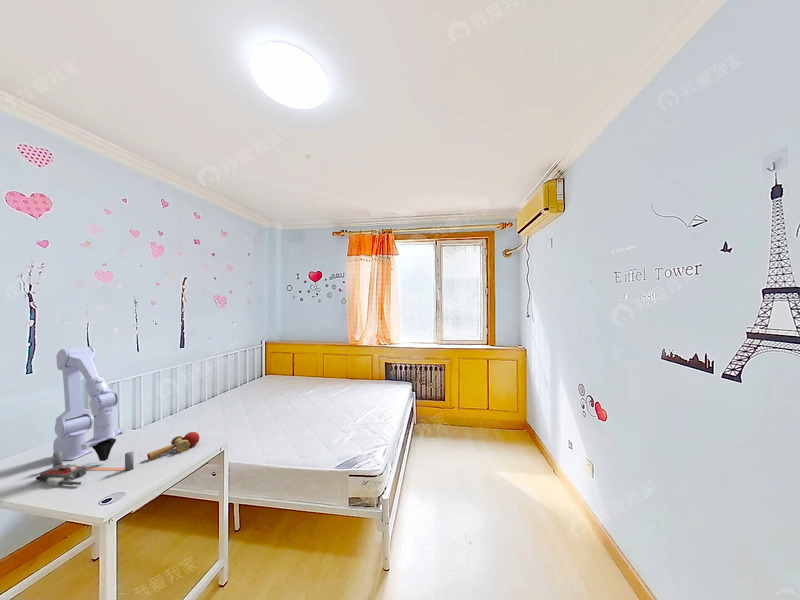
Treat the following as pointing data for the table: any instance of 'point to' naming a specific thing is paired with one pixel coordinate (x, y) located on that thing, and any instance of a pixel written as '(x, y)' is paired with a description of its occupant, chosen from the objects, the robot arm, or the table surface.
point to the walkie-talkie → (62, 475)
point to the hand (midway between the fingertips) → (103, 460)
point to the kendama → (177, 444)
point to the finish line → (128, 466)
